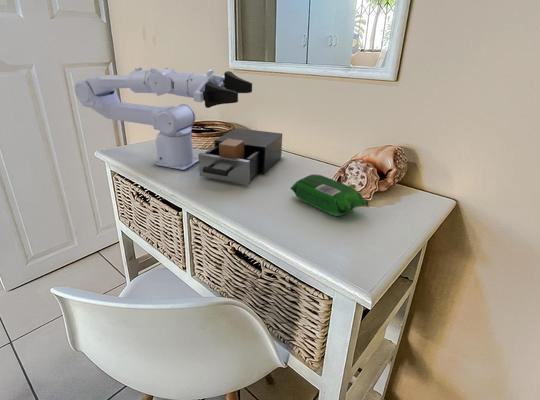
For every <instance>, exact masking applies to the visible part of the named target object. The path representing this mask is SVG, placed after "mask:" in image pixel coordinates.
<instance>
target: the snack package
mask: <svg viewBox="0 0 540 400" xmlns="http://www.w3.org/2000/svg"><path fill="white" fill-rule="evenodd" d="M290 191H292V192H293V193H294V194H295V196H296V198H298V200H300V201H302V202H303V203H306V204H308V205H310V206H312V207H314V208H316V209H318V210H320V211H323V212H325V213H327V214H330V215H332V216H334V217H340V216H342V215H344V214H349V213H351V212H352V211H353V210H354V209H357V208H362V207H365V206H366V207H368V208H369V207H370V205H369V200H367V199H365V198H364V197H363V196H362V194H361V193H360V192H359V191H358V190H357V189H355V188H354V187H352V186H349V185H347V184H344V183H342V182H339V181H336V180H335V179H332V178H329V177H327V176H324V175H322V174H316V173H314V174H309V175H307V176H305V177H302V178H301V179H298V180H297V181H296V182H295V183H293V185H292V186H291V187H290Z"/></svg>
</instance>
